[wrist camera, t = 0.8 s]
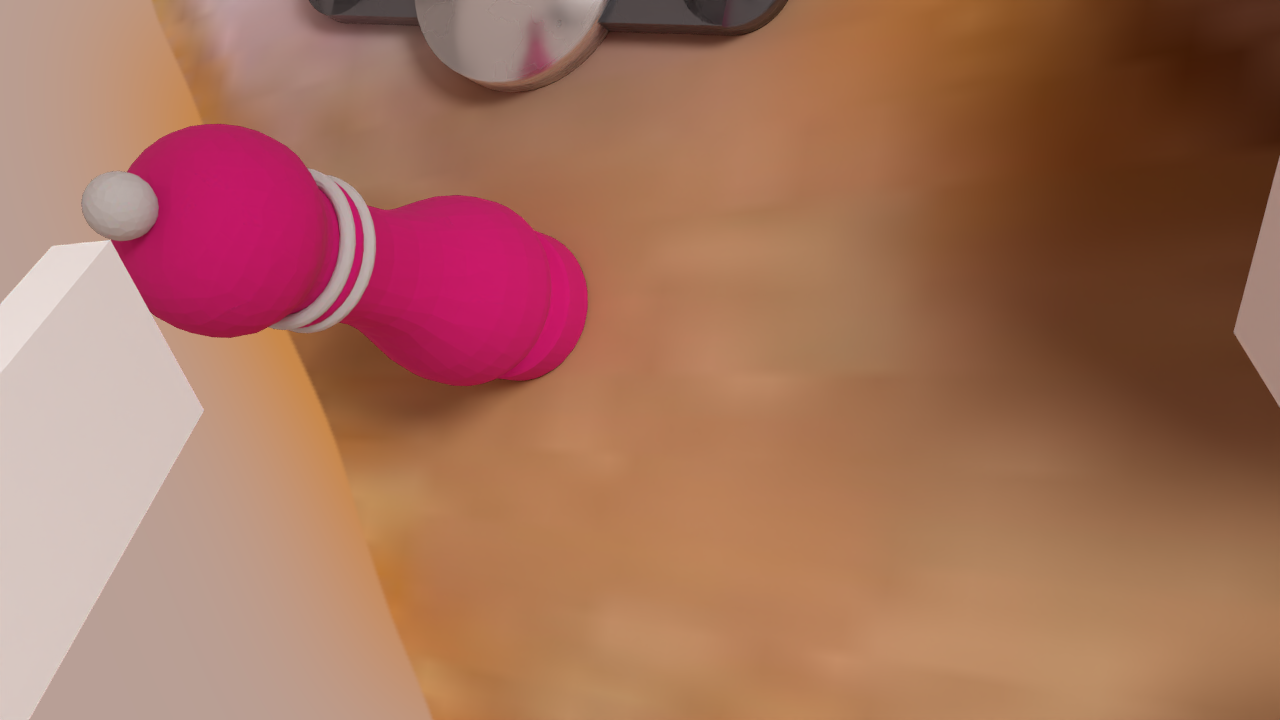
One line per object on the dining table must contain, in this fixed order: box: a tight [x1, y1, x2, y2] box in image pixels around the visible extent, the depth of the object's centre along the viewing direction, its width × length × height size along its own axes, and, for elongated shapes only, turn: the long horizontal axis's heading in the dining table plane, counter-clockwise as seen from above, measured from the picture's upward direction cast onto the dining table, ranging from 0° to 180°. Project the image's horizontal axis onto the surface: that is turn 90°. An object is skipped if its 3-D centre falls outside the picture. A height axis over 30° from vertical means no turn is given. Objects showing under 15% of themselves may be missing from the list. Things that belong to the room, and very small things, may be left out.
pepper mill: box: [81, 124, 588, 386], centre depth 35 cm, size 7×7×20 cm
